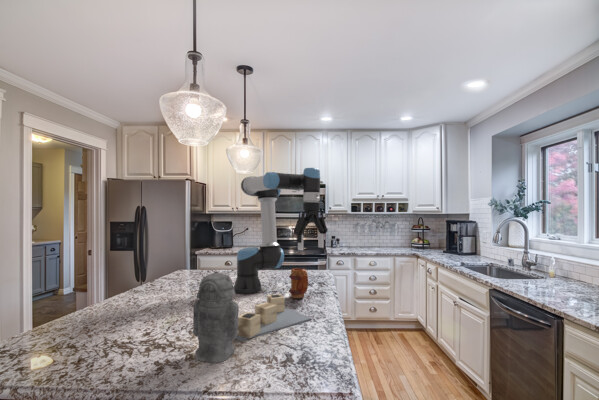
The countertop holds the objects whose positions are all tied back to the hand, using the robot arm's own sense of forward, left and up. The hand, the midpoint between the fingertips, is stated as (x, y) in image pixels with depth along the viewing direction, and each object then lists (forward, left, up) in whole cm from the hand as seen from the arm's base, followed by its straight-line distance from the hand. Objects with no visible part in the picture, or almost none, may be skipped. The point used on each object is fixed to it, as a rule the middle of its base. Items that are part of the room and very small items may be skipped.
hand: (311, 248), depth 131 cm
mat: (0, -25, -27) cm, 36 cm away
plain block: (+1, -25, -26) cm, 36 cm away
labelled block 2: (-7, -15, -26) cm, 31 cm away
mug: (-15, +5, -27) cm, 31 cm away
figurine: (+13, -51, -27) cm, 59 cm away
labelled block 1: (+7, -36, -26) cm, 45 cm away
